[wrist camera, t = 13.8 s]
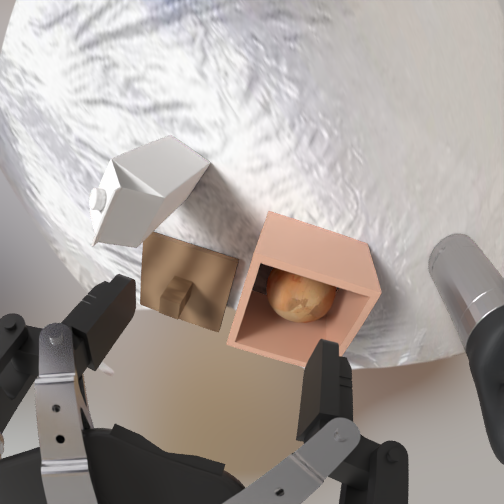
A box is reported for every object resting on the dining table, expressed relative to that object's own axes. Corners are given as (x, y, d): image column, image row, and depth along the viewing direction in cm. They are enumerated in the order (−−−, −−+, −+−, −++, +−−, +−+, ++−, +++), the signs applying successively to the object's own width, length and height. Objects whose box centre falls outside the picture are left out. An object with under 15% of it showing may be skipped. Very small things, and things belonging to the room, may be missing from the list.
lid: (238, 259, 47) (227, 285, 41) (220, 328, 55) (209, 356, 49) (146, 229, 48) (125, 250, 42) (142, 301, 56) (125, 324, 50)
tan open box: (367, 243, 43) (381, 292, 33) (329, 318, 51) (329, 373, 40) (268, 210, 43) (253, 252, 33) (243, 292, 51) (226, 344, 41)
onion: (268, 291, 50) (257, 334, 41) (274, 236, 45) (264, 273, 36) (327, 299, 49) (328, 344, 40) (340, 245, 44) (345, 285, 35)
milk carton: (211, 162, 41) (145, 214, 25) (186, 200, 45) (118, 267, 28) (171, 134, 40) (86, 169, 24) (149, 173, 44) (66, 226, 27)
